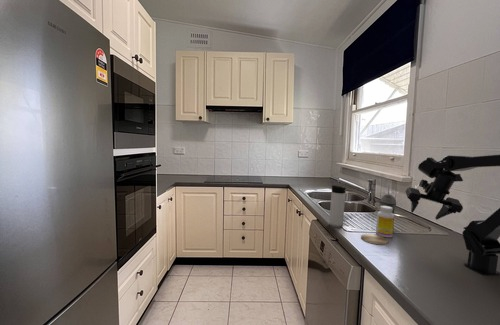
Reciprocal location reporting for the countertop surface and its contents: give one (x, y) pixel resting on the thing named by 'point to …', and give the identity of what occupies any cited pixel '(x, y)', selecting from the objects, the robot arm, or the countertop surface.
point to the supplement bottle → (385, 222)
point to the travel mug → (337, 206)
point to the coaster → (374, 239)
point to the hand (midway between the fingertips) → (423, 215)
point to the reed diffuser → (388, 201)
